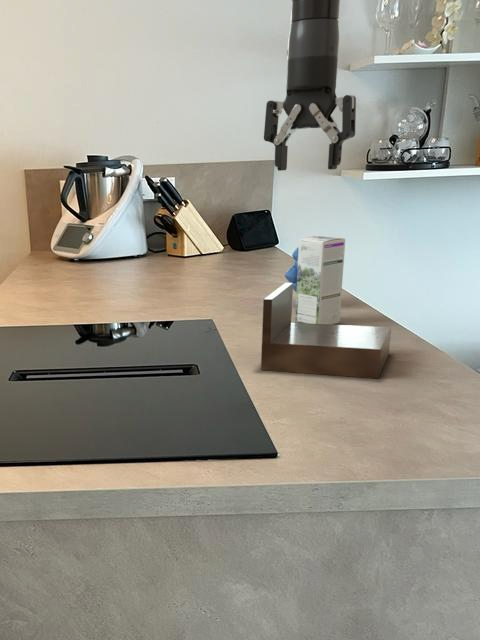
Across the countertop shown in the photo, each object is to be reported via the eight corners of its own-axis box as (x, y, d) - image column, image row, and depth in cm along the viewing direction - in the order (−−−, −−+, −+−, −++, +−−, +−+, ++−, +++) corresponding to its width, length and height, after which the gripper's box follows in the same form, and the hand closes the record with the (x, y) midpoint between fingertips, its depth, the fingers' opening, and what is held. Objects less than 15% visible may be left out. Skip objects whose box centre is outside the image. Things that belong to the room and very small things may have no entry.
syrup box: (341, 323, 138) (347, 237, 132) (317, 328, 135) (323, 240, 129) (316, 318, 142) (321, 234, 136) (293, 323, 139) (297, 237, 134)
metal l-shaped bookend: (388, 353, 117) (395, 286, 113) (378, 378, 106) (385, 303, 102) (282, 347, 123) (285, 282, 119) (260, 370, 111) (263, 299, 108)
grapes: (273, 301, 158) (275, 239, 153) (305, 299, 159) (308, 238, 154) (293, 312, 148) (296, 246, 143) (327, 310, 148) (332, 244, 144)
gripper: (366, 53, 119) (358, 168, 125) (279, 61, 126) (275, 169, 133) (349, 49, 113) (341, 170, 120) (259, 58, 121) (255, 171, 127)
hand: (306, 169), depth 126 cm, fingers open, 8 cm apart
